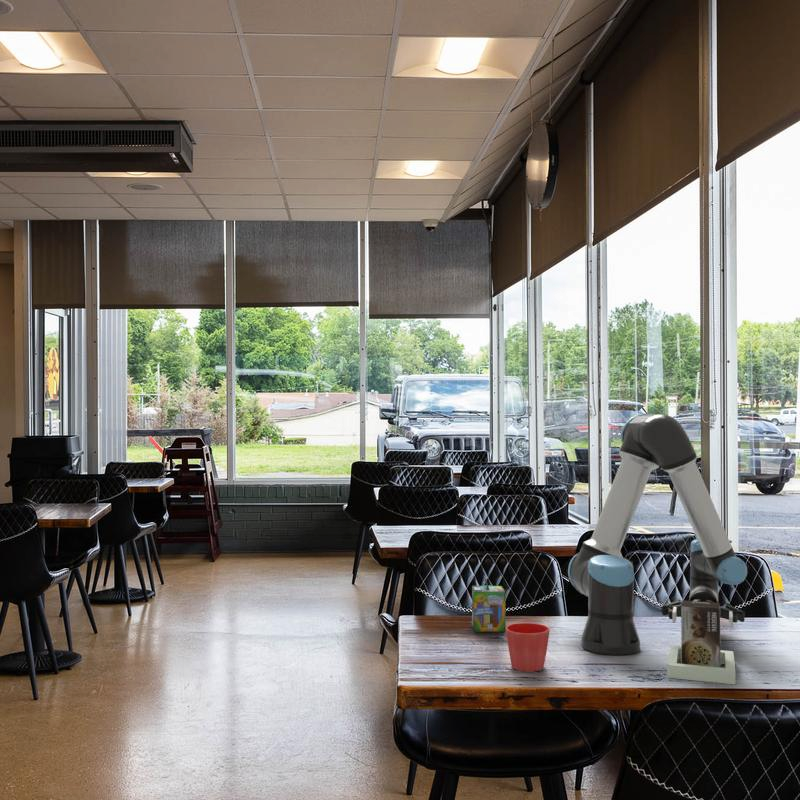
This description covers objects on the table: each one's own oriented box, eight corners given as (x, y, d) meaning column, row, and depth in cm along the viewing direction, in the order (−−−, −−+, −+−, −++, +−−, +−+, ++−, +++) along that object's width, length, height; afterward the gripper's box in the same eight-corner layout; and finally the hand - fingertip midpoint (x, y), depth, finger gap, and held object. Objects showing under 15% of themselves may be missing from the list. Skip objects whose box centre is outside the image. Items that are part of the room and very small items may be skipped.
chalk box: (505, 632, 252) (506, 580, 252) (473, 632, 252) (473, 579, 252) (502, 624, 261) (503, 573, 261) (471, 624, 261) (471, 573, 261)
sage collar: (667, 677, 211) (667, 664, 211) (670, 657, 228) (670, 645, 228) (735, 684, 207) (735, 671, 207) (733, 663, 224) (733, 651, 224)
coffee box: (720, 668, 219) (720, 602, 219) (720, 676, 213) (721, 608, 213) (681, 664, 222) (681, 599, 222) (680, 672, 216) (680, 604, 216)
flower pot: (496, 667, 218) (496, 627, 218) (522, 658, 226) (522, 620, 226) (532, 677, 211) (532, 635, 211) (558, 667, 219) (558, 627, 219)
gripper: (752, 620, 241) (755, 639, 221) (656, 612, 249) (650, 630, 229) (752, 592, 241) (755, 609, 221) (656, 585, 249) (650, 601, 229)
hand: (702, 620), depth 225 cm, fingers open, 13 cm apart
